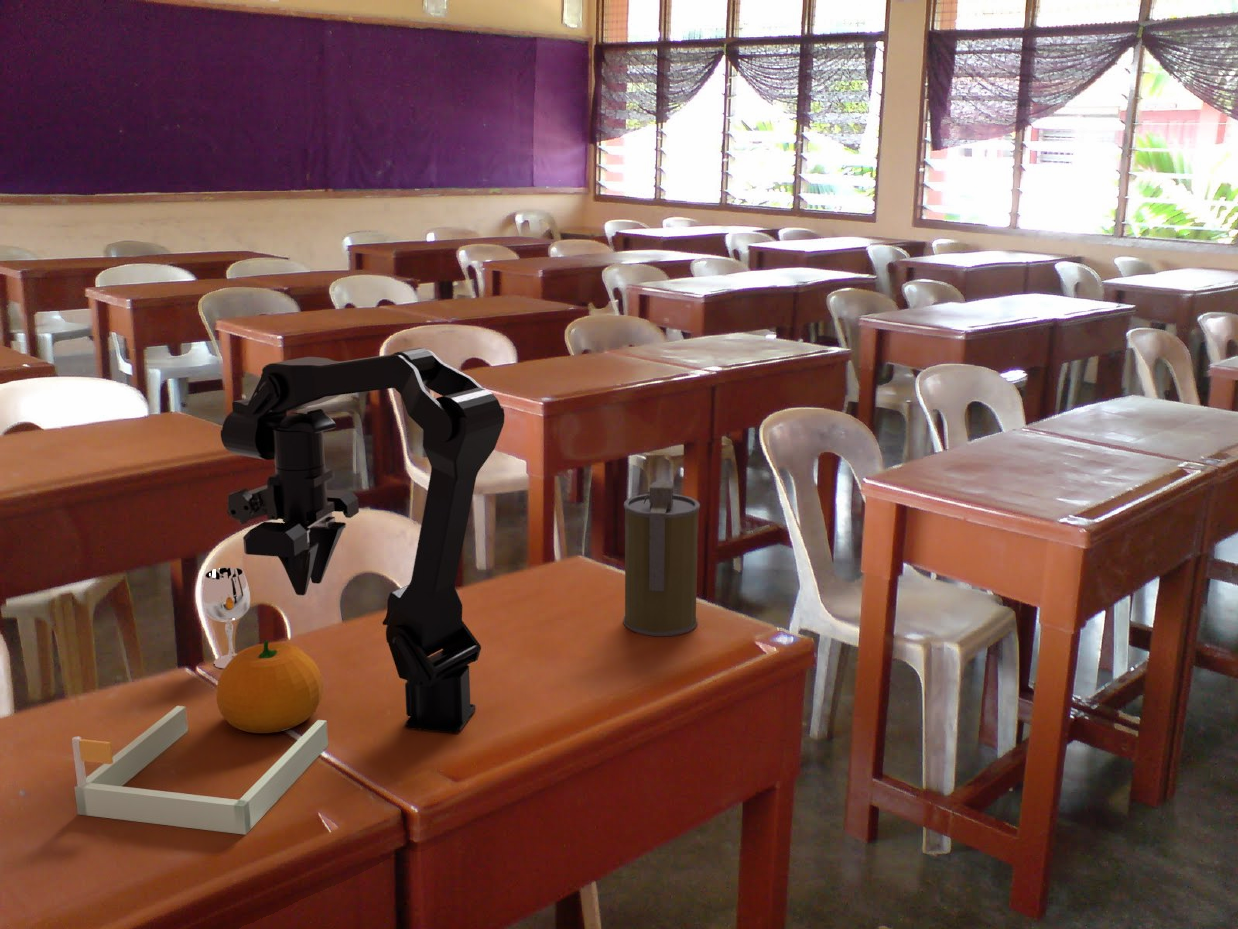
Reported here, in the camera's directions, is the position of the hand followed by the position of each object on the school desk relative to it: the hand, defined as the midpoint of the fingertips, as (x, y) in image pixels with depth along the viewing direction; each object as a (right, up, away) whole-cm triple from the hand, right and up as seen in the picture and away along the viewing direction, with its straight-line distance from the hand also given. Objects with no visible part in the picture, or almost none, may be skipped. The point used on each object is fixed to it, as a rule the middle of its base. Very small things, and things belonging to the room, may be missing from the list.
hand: (308, 588), depth 141 cm
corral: (-5, -18, -20) cm, 27 cm away
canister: (+44, -7, +21) cm, 49 cm away
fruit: (-2, -15, -7) cm, 17 cm away
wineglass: (-12, -10, +8) cm, 18 cm away
